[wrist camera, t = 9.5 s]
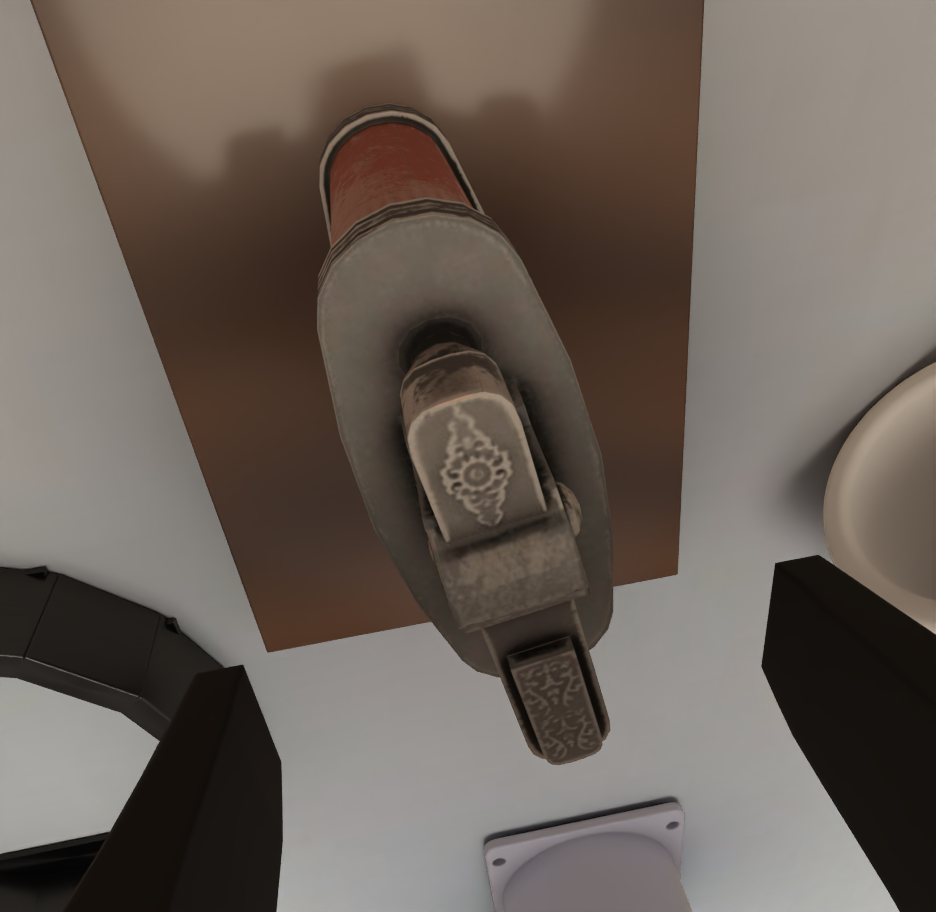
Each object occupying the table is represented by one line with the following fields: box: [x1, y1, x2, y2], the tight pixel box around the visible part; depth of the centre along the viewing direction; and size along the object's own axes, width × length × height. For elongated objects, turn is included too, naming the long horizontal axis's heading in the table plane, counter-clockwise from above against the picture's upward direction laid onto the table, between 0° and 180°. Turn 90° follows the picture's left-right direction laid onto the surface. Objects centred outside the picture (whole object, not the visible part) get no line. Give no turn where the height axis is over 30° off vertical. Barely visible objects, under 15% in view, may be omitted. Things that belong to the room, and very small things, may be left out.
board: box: [30, 0, 704, 652], centre depth 18 cm, size 20×12×1 cm, turn 7°
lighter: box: [317, 103, 614, 765], centre depth 13 cm, size 8×3×10 cm, turn 16°
